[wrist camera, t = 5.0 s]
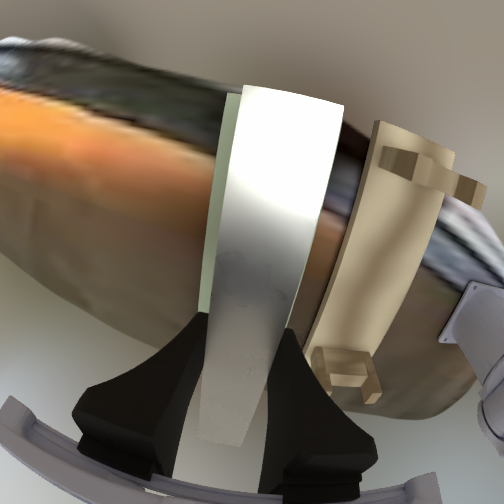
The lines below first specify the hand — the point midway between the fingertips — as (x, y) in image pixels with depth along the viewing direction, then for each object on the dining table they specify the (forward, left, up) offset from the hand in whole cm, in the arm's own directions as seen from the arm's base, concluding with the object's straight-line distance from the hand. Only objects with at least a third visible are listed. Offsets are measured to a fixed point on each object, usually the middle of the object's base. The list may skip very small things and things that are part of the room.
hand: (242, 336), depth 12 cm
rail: (0, 0, -2) cm, 2 cm away
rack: (-10, 0, -10) cm, 14 cm away
